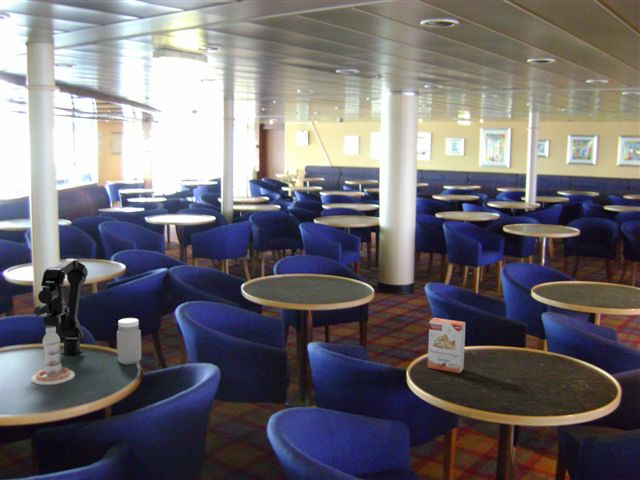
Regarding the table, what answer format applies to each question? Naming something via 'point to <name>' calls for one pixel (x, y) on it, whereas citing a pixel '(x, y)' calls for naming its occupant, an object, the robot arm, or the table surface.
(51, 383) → the white orange plate
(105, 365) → the table surface
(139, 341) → the jar
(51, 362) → the plastic bottle
